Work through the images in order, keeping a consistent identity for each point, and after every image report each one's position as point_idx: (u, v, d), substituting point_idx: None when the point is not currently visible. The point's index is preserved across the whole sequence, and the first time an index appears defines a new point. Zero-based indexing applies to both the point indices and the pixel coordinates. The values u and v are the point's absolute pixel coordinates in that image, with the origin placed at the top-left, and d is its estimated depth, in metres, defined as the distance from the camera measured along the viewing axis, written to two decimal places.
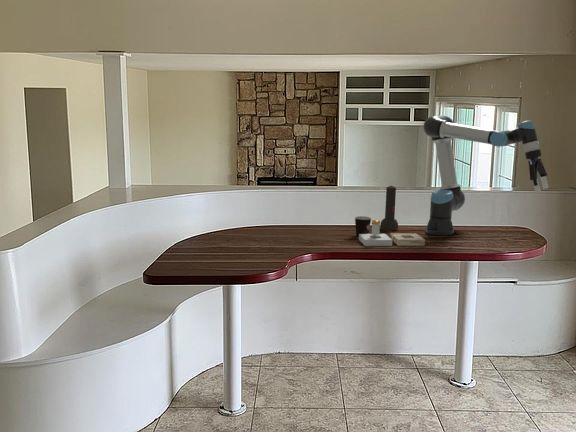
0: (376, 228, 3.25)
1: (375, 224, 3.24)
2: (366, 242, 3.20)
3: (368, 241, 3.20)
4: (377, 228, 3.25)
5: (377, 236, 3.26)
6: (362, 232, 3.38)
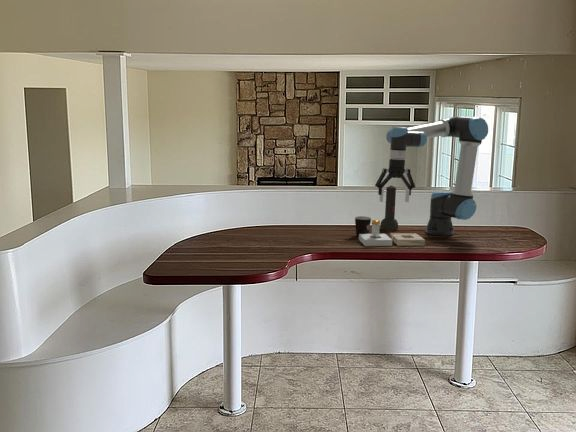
0: (376, 228, 3.25)
1: (375, 224, 3.24)
2: (366, 242, 3.20)
3: (368, 241, 3.20)
4: (377, 228, 3.25)
5: (377, 236, 3.26)
6: (362, 232, 3.38)
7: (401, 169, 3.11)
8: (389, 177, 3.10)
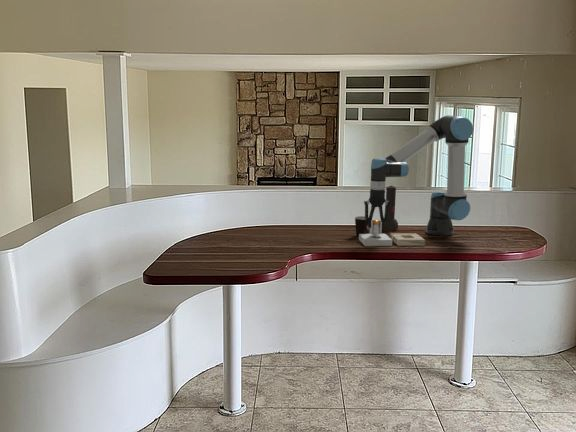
0: (376, 228, 3.25)
1: (375, 224, 3.24)
2: (366, 242, 3.20)
3: (368, 241, 3.20)
4: (377, 228, 3.25)
5: (377, 236, 3.26)
6: (362, 232, 3.38)
7: (382, 198, 3.23)
8: (372, 208, 3.23)
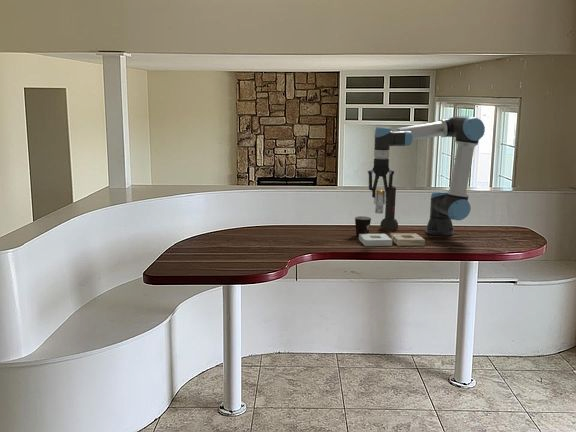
0: (380, 198, 3.22)
1: (379, 194, 3.21)
2: (366, 242, 3.20)
3: (368, 241, 3.20)
4: (381, 198, 3.22)
5: (381, 206, 3.23)
6: (362, 232, 3.38)
7: (386, 167, 3.20)
8: (376, 178, 3.20)
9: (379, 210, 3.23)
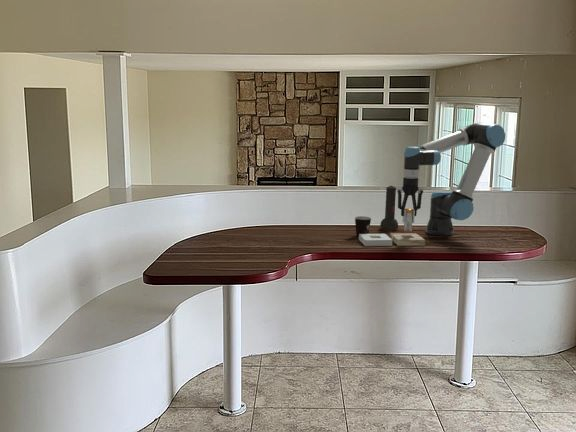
0: (409, 216, 3.25)
1: (408, 212, 3.25)
2: (366, 242, 3.20)
3: (368, 241, 3.20)
4: (410, 216, 3.25)
5: (410, 224, 3.26)
6: (362, 232, 3.38)
7: (415, 186, 3.23)
8: (406, 197, 3.24)
9: (408, 228, 3.27)
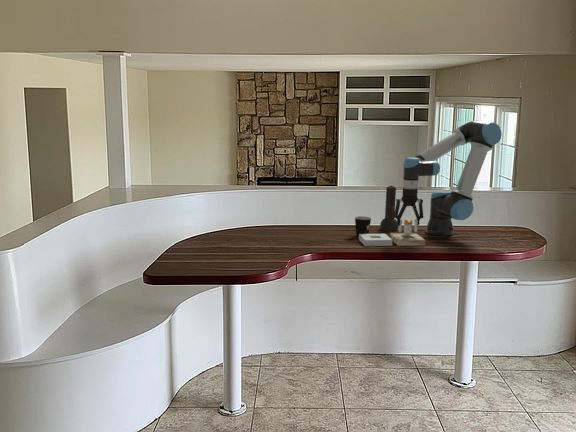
0: (408, 228, 3.27)
1: (407, 224, 3.26)
2: (366, 242, 3.20)
3: (368, 241, 3.20)
4: (409, 228, 3.27)
5: (409, 236, 3.28)
6: (362, 232, 3.38)
7: (414, 197, 3.25)
8: (404, 207, 3.25)
9: None
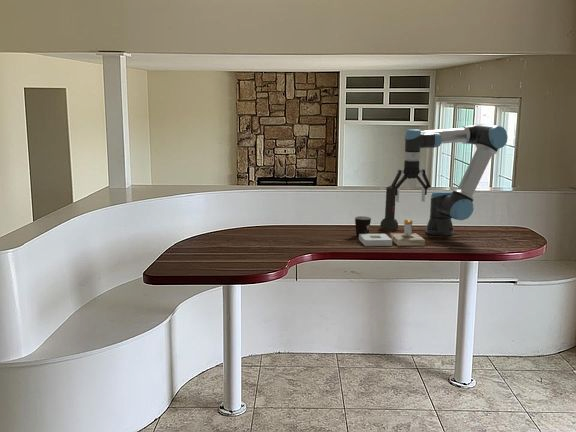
0: (408, 228, 3.27)
1: (407, 224, 3.26)
2: (366, 242, 3.20)
3: (368, 241, 3.20)
4: (409, 228, 3.27)
5: (409, 236, 3.28)
6: (362, 232, 3.38)
7: (416, 170, 3.22)
8: (404, 178, 3.22)
9: None
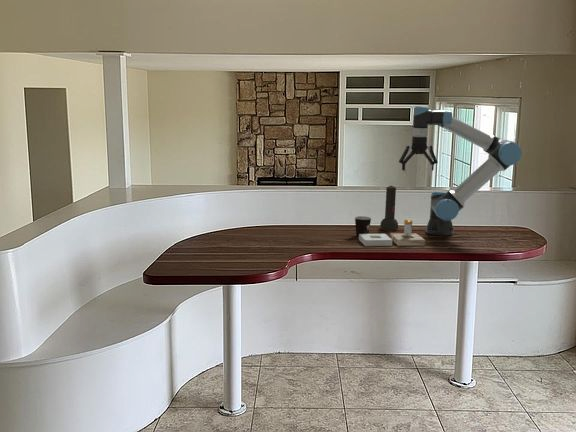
0: (408, 228, 3.27)
1: (407, 224, 3.26)
2: (366, 242, 3.20)
3: (368, 241, 3.20)
4: (409, 228, 3.27)
5: (409, 236, 3.28)
6: (362, 232, 3.38)
7: (423, 146, 3.31)
8: (412, 153, 3.31)
9: None
